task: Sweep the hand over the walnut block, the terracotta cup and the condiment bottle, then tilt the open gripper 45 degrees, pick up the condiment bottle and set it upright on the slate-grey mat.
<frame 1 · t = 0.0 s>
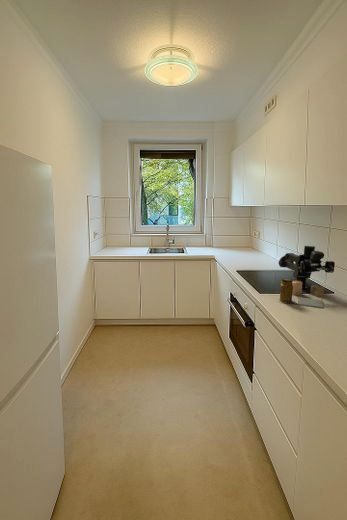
hand: (325, 270, 164), 17 cm above the countertop, tool horizontal, fingers open, 9 cm apart
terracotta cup: (295, 293, 178), on the countertop
walnut block: (316, 295, 176), on the countertop
slate mat: (310, 303, 162), on the countertop
condiment: (287, 302, 164), on the countertop
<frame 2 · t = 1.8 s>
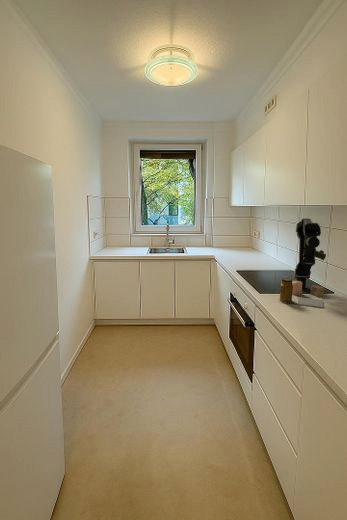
hand: (307, 273, 172), 13 cm above the countertop, tool pointing down, fingers open, 9 cm apart
nothing on the countertop moved.
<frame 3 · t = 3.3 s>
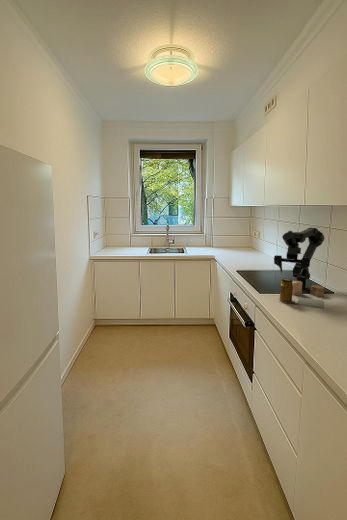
hand: (290, 273, 169), 13 cm above the countertop, tool tilted 45°, fingers open, 9 cm apart
nothing on the countertop moved.
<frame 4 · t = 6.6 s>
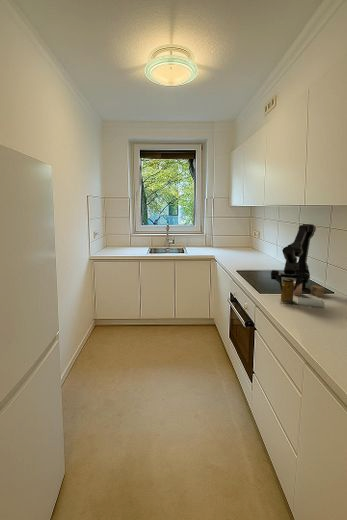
hand: (287, 289, 161), 7 cm above the countertop, tool tilted 45°, fingers open, 6 cm apart
condiment: (288, 302, 164), on the countertop, touching gripper, slate mat
everything else where it was.
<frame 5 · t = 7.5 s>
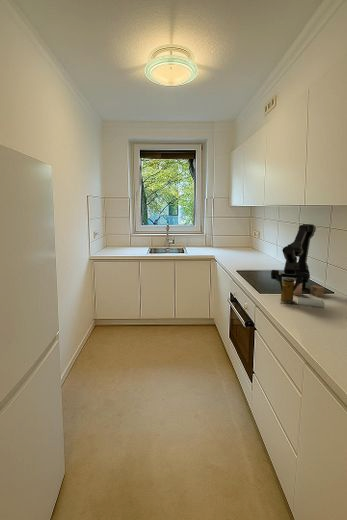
hand: (287, 289, 161), 7 cm above the countertop, tool tilted 45°, fingers closed on condiment, 6 cm apart
condiment: (288, 301, 164), on the countertop, touching gripper, slate mat
everything else where it was.
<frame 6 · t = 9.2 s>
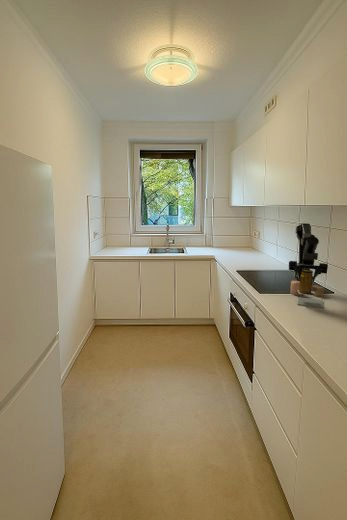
hand: (306, 280, 159), 12 cm above the countertop, tool tilted 45°, fingers closed on condiment, 6 cm apart
condiment: (306, 293, 161), point 5 cm above the countertop, touching gripper
everything else where it was.
when the fingers open (8 cm above the countertop, at t = 10.8 s): condiment stays where it is, resting on slate mat.
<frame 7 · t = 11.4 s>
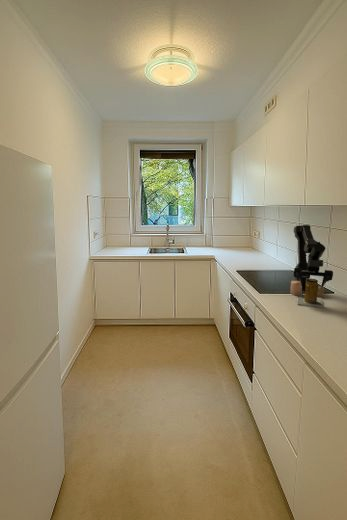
hand: (311, 287, 159), 9 cm above the countertop, tool tilted 45°, fingers open, 9 cm apart
condiment: (312, 302, 161), resting on slate mat
everything else where it was.
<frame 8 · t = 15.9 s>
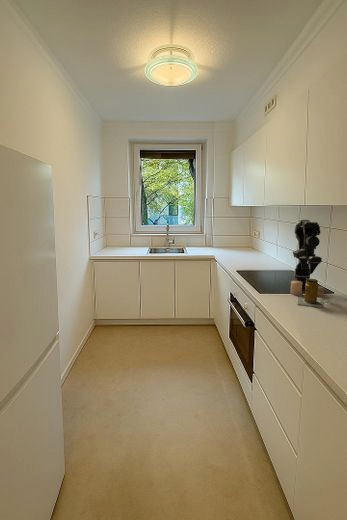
hand: (306, 272, 175), 13 cm above the countertop, tool pointing down, fingers open, 9 cm apart
nothing on the countertop moved.
at the end: condiment inside the target area on the slate mat (0.9 cm from its centre), point 0.4 cm above the slate mat's base; condiment tilted 0°; the gripper is holding nothing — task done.
